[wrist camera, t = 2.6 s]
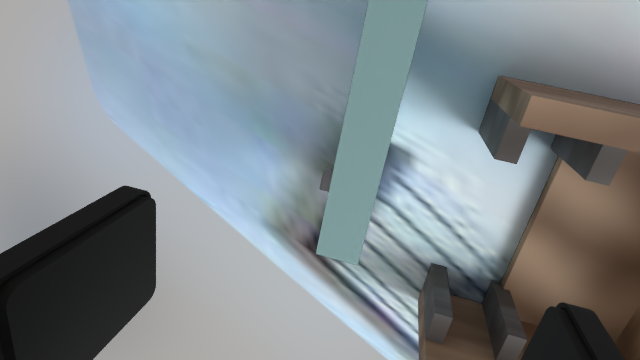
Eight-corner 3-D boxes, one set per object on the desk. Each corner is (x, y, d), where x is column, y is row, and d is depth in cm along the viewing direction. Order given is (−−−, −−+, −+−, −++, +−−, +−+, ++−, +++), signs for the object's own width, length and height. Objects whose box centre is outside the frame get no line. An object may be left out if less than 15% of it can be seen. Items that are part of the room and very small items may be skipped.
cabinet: (498, 75, 25) (531, 95, 18) (771, 132, 23) (932, 180, 16) (418, 300, 33) (419, 377, 26) (618, 359, 31) (680, 461, 24)
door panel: (373, -9, 25) (350, -28, 16) (425, 1, 25) (431, -13, 16) (333, 183, 31) (299, 248, 22) (374, 194, 31) (357, 265, 22)
